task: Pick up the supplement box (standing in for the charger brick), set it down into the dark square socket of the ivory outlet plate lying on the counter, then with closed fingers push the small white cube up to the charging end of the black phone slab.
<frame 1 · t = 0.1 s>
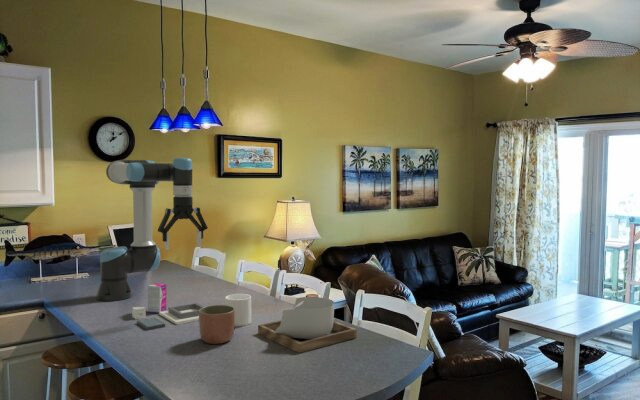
hand: (183, 248, 202), 28 cm above the worktop, fingers open, 13 cm apart
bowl: (306, 335, 179), resting in wooden tray
supplement box: (157, 311, 210), on the worktop
wooden tray: (306, 335, 179), on the worktop
planter: (217, 340, 174), on the worktop
outlet plate: (188, 315, 204), on the worktop
white cube: (138, 317, 201), on the worktop
phone: (150, 325, 191), on the worktop
mug: (236, 322, 195), on the worktop
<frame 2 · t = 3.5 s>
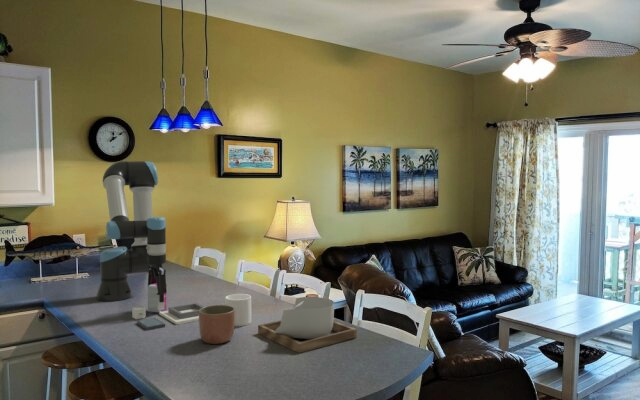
hand: (157, 307, 210), 2 cm above the worktop, fingers closed on supplement box, 8 cm apart
supplement box: (157, 311, 210), on the worktop, touching gripper
everything else where it was.
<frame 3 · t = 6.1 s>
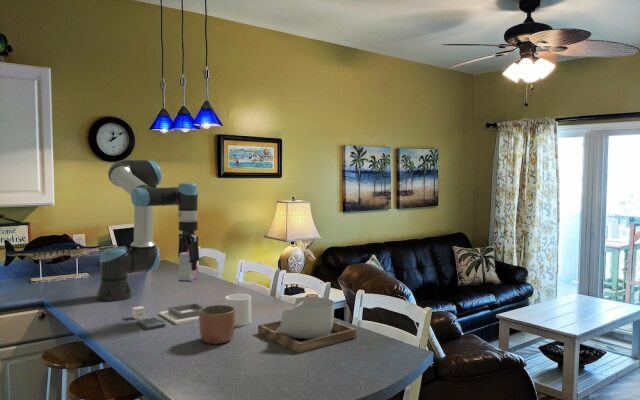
hand: (188, 276, 203), 16 cm above the worktop, fingers closed on supplement box, 8 cm apart
supplement box: (188, 280, 203), point 14 cm above the worktop, touching gripper
everything else where it was.
when the fingers open (5 cm above the worktop, at t = 8.9 s): supplement box drops 2 cm, resting on outlet plate.
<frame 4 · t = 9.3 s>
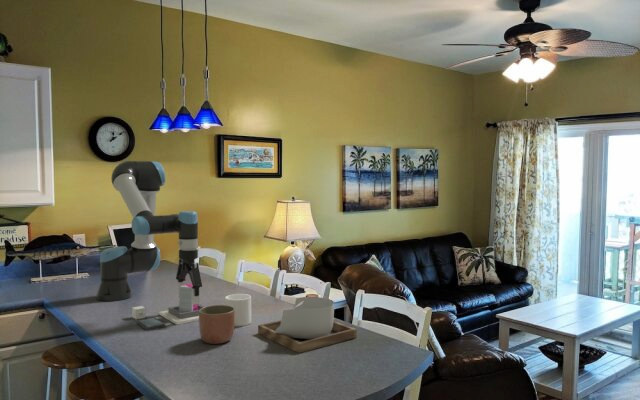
hand: (188, 300, 204), 6 cm above the worktop, fingers open, 13 cm apart
supplement box: (188, 313, 204), point 1 cm above the worktop, touching outlet plate
everything else where it was.
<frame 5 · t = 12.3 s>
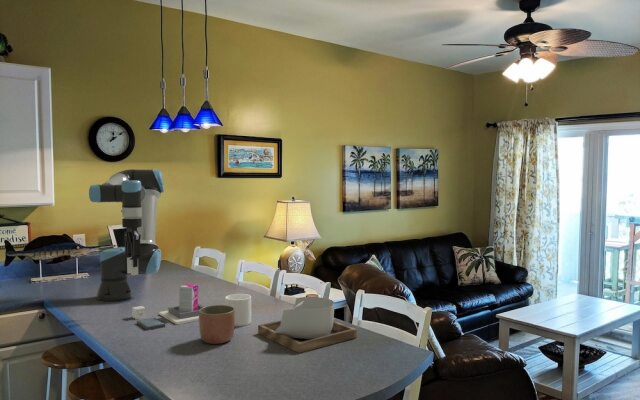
hand: (132, 273, 206), 17 cm above the worktop, fingers open, 4 cm apart
nothing on the worktop moved.
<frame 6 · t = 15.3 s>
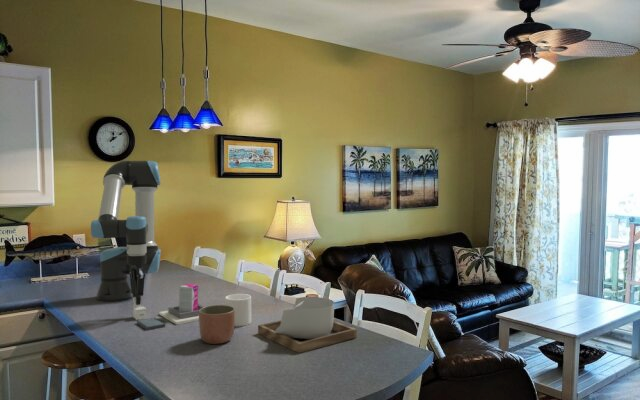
hand: (137, 312, 202), 2 cm above the worktop, fingers closed
white cube: (140, 317, 200), on the worktop, touching gripper
everything else where it was.
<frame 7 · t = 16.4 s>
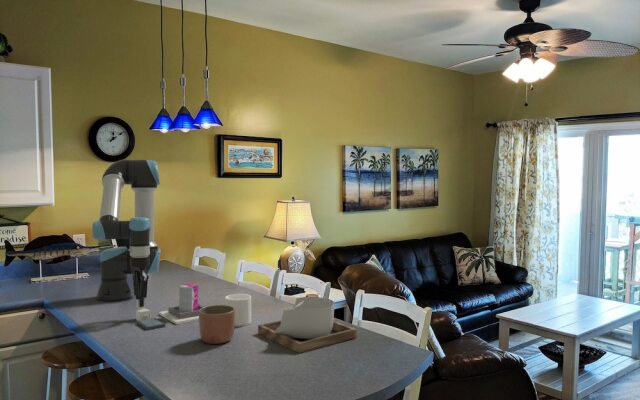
hand: (140, 314, 200), 2 cm above the worktop, fingers closed
white cube: (143, 320, 198), on the worktop, touching gripper
everything else where it was.
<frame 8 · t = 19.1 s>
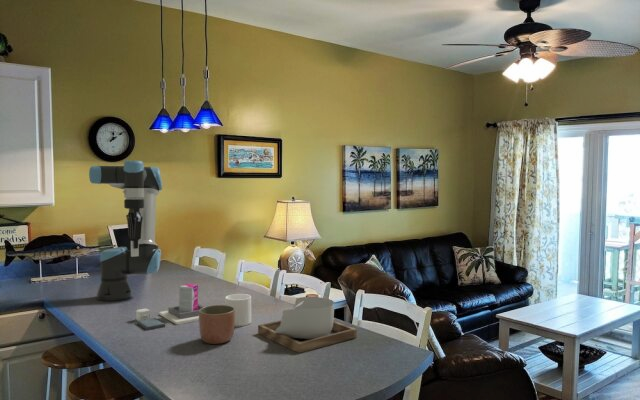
hand: (134, 256, 203), 24 cm above the worktop, fingers closed
white cube: (143, 320, 198), on the worktop
everything else where it was.
at the end: supplement box 0.1 cm off-centre on the outlet plate, point 0.8 cm above the outlet plate's base; supplement box tilted 0°; white cube 0.1 cm from the target spot on the worktop beside the phone, on the worktop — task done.
